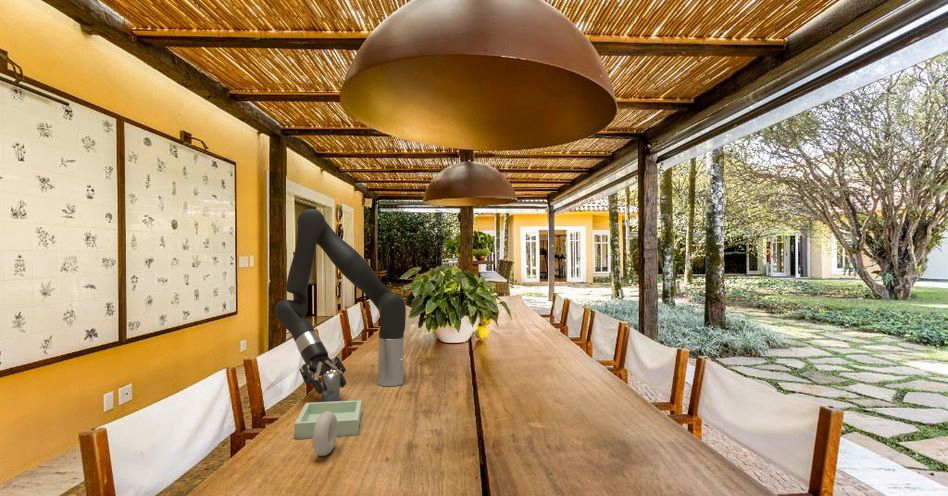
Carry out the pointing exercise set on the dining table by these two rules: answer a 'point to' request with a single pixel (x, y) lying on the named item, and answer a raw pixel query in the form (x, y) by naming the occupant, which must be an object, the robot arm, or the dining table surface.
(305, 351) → the robot arm
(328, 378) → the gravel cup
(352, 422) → the pale green shallow tray
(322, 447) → the donut
